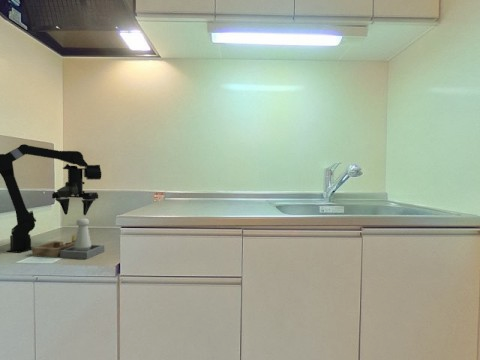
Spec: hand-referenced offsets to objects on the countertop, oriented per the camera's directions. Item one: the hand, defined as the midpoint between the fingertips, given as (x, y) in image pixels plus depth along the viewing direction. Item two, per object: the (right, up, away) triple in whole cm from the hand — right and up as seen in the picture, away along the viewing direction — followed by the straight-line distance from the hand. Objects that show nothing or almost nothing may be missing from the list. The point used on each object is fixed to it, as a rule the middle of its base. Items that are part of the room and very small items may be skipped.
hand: (75, 214), depth 135 cm
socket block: (0, -13, -14) cm, 19 cm away
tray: (+12, -14, -15) cm, 24 cm away
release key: (+1, -13, -5) cm, 14 cm away
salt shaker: (+11, -13, -16) cm, 23 cm away
